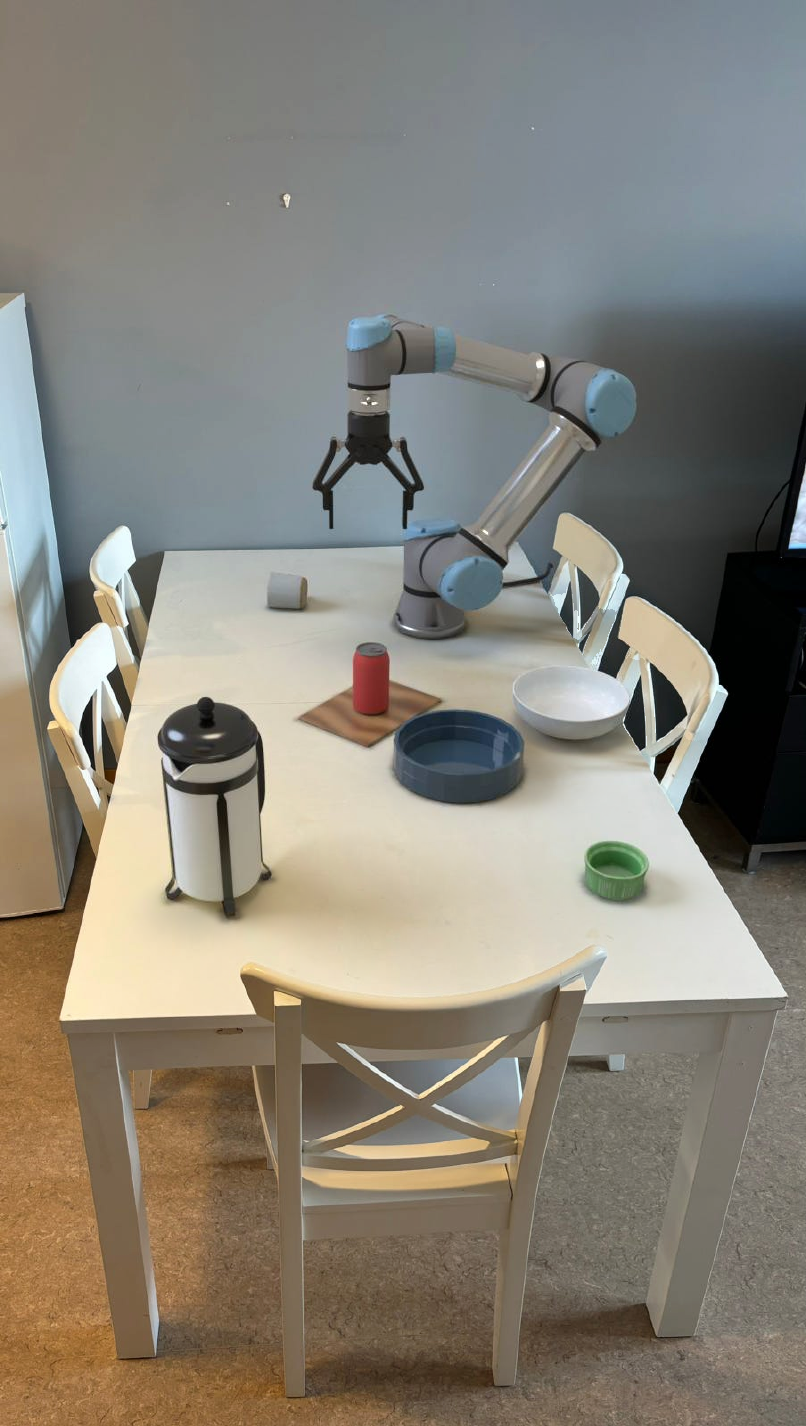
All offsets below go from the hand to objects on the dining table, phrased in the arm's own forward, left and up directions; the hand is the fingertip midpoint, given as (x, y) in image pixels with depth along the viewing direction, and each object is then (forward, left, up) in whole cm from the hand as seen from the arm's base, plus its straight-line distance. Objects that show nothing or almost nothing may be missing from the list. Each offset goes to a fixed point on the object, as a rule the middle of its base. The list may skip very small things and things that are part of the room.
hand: (368, 527), depth 200 cm
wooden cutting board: (+14, +12, -29) cm, 34 cm away
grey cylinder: (-13, -33, -29) cm, 46 cm away
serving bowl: (-4, +43, -29) cm, 52 cm away
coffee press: (+67, +27, -29) cm, 78 cm away
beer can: (+14, +12, -28) cm, 34 cm away
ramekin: (+33, +71, -29) cm, 83 cm away
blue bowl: (+21, +36, -29) cm, 51 cm away
